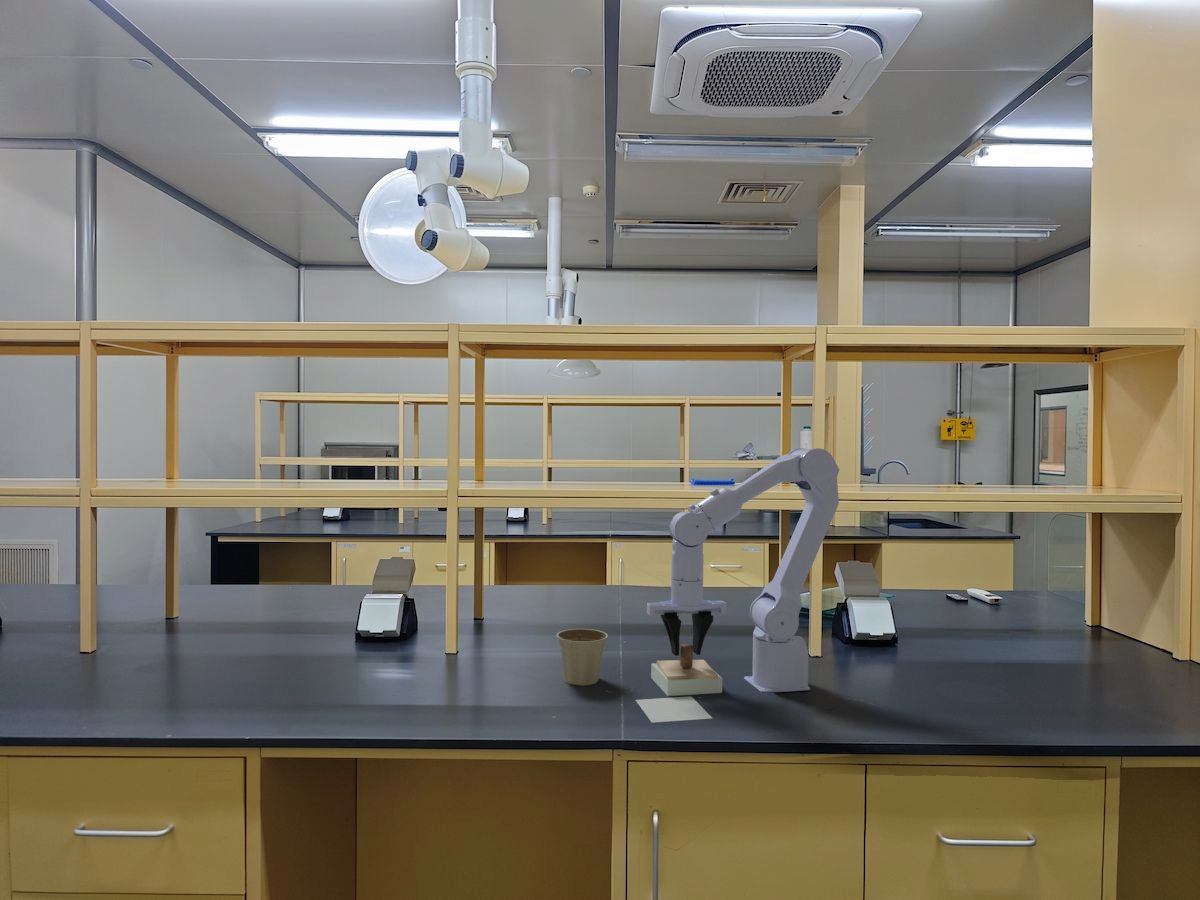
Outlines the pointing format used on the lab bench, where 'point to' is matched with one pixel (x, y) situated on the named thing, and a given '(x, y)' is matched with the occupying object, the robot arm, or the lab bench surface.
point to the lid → (686, 666)
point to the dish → (685, 684)
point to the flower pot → (581, 655)
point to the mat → (672, 709)
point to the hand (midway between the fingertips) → (686, 653)
